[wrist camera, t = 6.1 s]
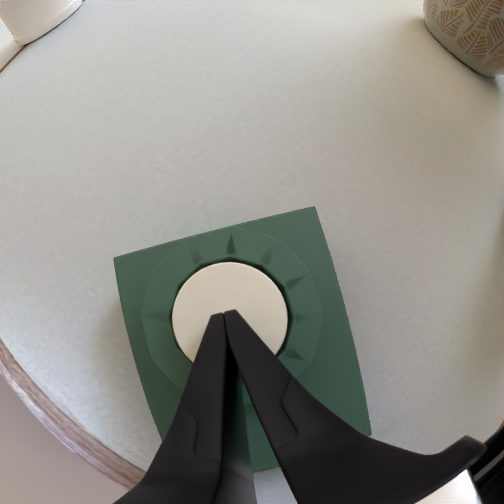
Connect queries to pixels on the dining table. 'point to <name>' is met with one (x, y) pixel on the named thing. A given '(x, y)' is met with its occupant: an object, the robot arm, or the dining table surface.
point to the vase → (470, 31)
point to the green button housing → (297, 304)
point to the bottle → (34, 16)
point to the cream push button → (229, 304)
